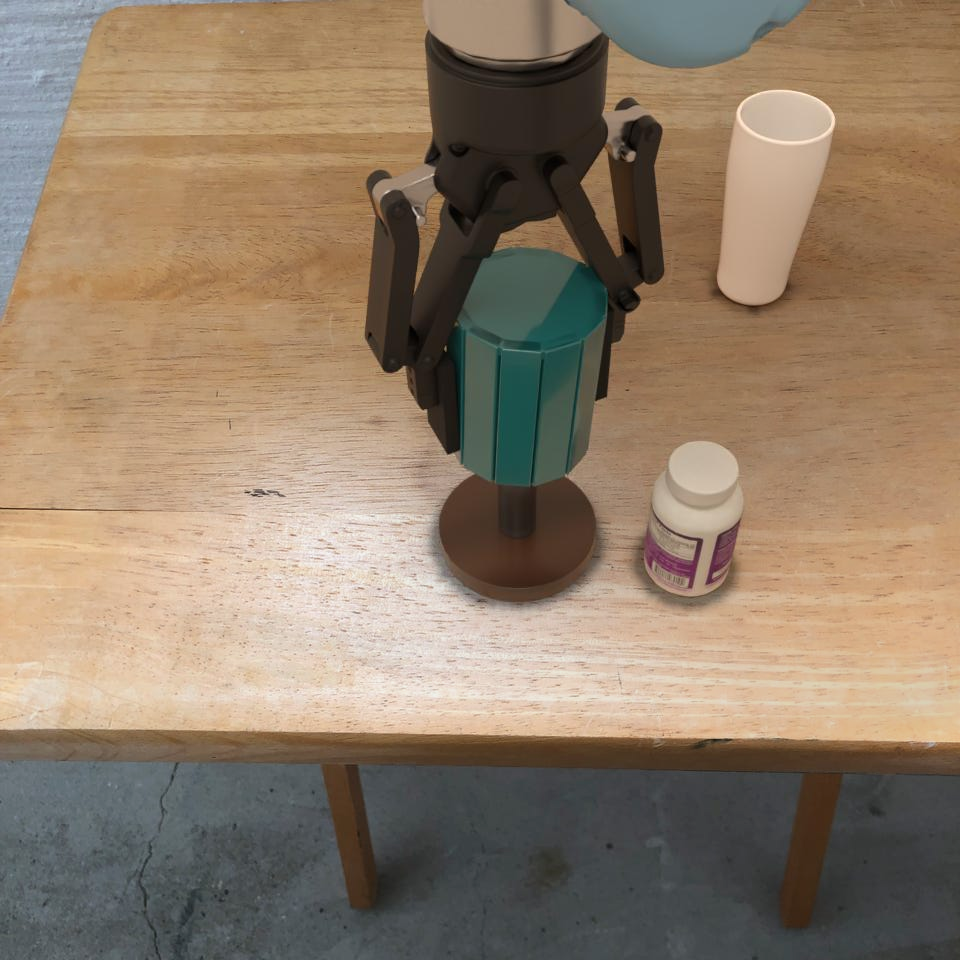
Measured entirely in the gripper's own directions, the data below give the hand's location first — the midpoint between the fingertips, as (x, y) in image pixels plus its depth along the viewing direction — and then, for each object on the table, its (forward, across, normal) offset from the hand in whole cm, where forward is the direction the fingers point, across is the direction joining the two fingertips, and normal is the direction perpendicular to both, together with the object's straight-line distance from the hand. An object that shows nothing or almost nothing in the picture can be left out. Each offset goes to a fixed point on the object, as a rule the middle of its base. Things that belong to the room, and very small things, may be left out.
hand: (518, 409), depth 62 cm
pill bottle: (+12, -8, +6) cm, 16 cm away
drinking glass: (+12, -27, -14) cm, 33 cm away
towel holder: (+12, 0, 0) cm, 12 cm away
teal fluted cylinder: (+1, 0, 0) cm, 2 cm away
